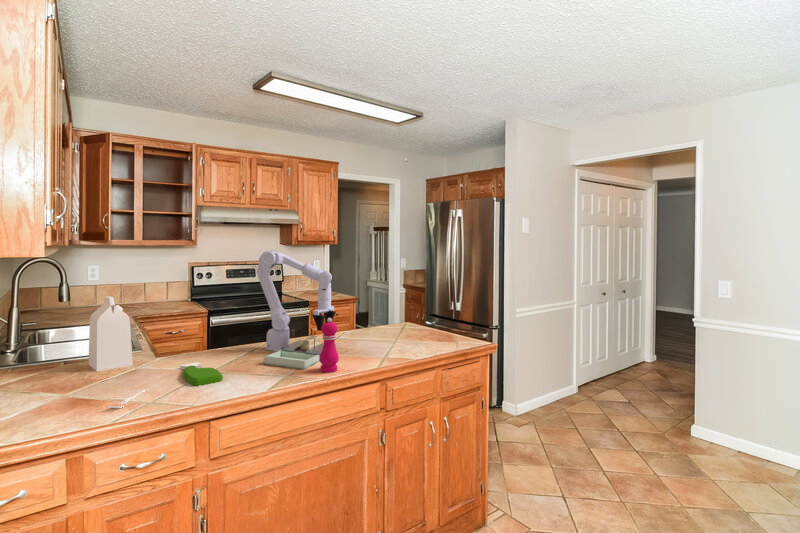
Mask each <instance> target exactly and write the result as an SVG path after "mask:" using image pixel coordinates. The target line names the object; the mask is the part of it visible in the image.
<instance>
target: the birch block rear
mask: <svg viewBox="0 0 800 533" xmlns="http://www.w3.org/2000/svg"><path fill="white" fill-rule="evenodd" d="M306 338H311V339H314V347H315V346H317V345H319V344H321V340H320V339H321V337H320V336H319V335H310V336H307V337H306Z"/></svg>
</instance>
